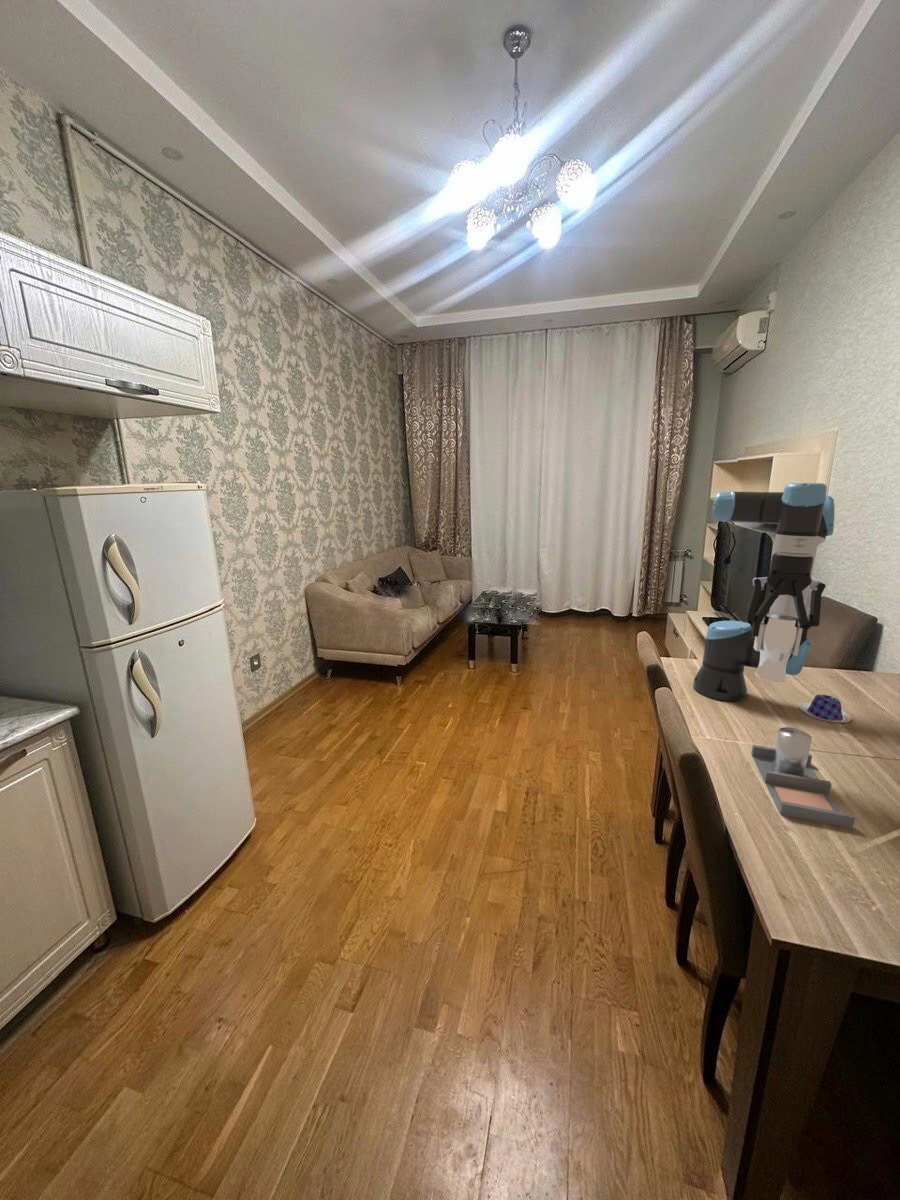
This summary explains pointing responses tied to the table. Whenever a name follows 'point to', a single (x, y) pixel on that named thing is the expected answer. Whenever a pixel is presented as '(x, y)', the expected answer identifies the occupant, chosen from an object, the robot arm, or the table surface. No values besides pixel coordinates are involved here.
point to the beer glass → (776, 646)
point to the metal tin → (791, 751)
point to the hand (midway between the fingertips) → (774, 651)
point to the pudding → (825, 708)
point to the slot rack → (800, 792)
